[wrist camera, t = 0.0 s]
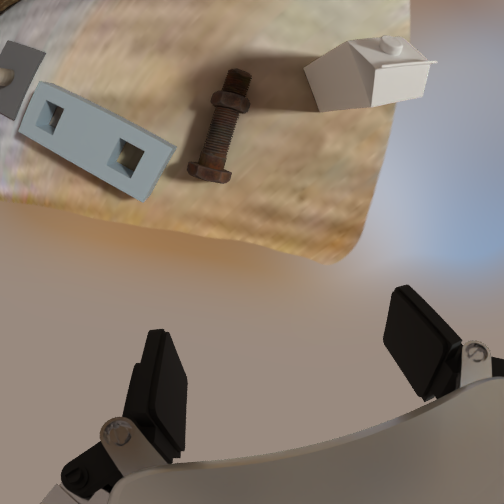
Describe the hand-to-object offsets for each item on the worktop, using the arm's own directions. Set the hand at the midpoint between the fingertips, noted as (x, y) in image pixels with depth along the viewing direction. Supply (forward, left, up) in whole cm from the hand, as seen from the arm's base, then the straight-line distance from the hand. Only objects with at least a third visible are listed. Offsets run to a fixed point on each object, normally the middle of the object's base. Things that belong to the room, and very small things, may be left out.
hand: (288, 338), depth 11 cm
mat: (+2, -45, -31) cm, 55 cm away
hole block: (+4, -22, -31) cm, 38 cm away
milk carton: (-20, +3, -32) cm, 38 cm away
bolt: (-6, -6, -32) cm, 33 cm away
